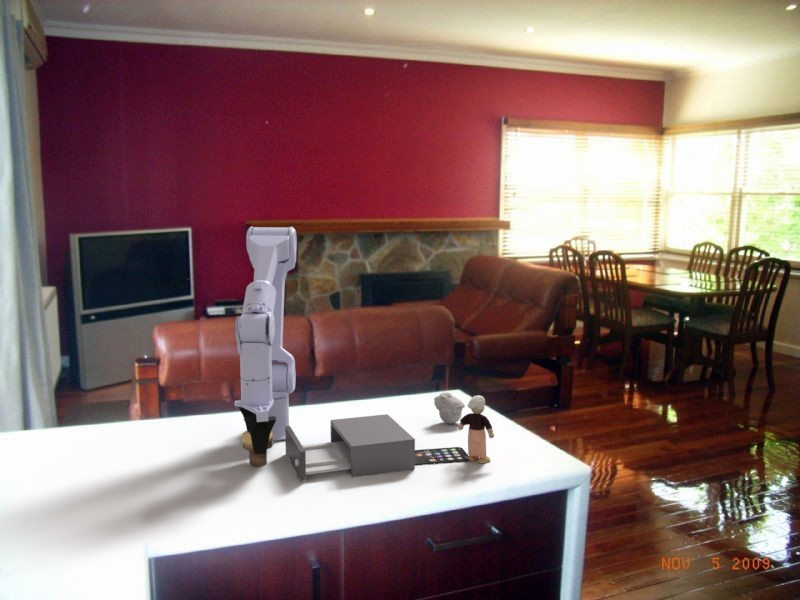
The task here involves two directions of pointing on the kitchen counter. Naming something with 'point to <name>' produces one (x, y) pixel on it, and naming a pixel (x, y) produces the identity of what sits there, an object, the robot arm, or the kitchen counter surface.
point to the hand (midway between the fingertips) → (257, 447)
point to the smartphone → (440, 455)
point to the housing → (375, 444)
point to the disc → (248, 443)
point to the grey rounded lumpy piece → (449, 407)
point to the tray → (316, 455)
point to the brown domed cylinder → (257, 459)
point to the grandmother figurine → (477, 430)
